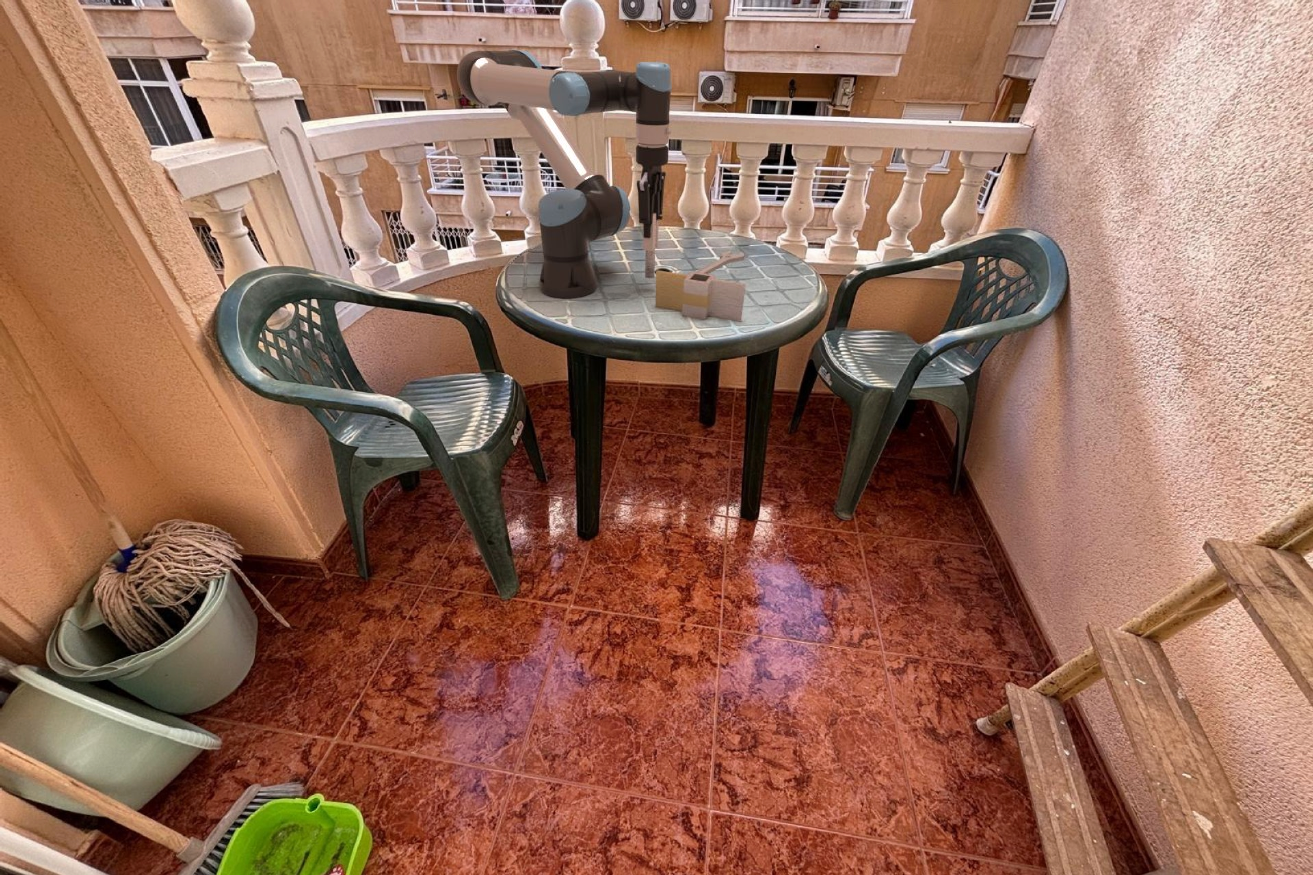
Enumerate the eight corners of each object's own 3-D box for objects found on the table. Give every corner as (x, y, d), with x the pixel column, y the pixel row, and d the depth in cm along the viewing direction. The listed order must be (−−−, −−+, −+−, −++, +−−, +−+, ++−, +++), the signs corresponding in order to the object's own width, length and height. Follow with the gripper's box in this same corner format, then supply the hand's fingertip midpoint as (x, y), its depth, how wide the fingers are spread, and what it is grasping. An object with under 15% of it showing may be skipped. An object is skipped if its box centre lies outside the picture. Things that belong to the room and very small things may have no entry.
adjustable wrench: (697, 281, 150) (698, 275, 149) (680, 275, 154) (680, 269, 152) (746, 259, 165) (747, 253, 164) (729, 254, 169) (730, 248, 168)
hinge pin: (643, 277, 140) (644, 214, 130) (647, 274, 142) (648, 211, 132) (652, 279, 139) (653, 215, 130) (655, 275, 141) (657, 212, 131)
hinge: (651, 310, 132) (652, 275, 127) (660, 301, 137) (661, 267, 131) (737, 325, 126) (742, 289, 121) (743, 315, 131) (748, 280, 125)
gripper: (655, 151, 115) (653, 259, 129) (678, 141, 126) (674, 241, 141) (623, 148, 117) (624, 255, 131) (649, 138, 128) (647, 237, 143)
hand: (650, 248), depth 136 cm, fingers closed on hinge pin, 2 cm apart
